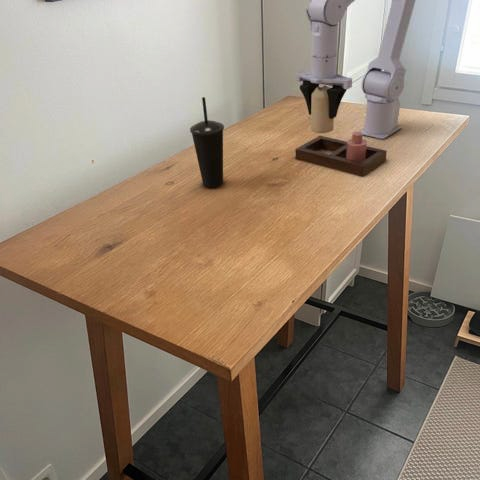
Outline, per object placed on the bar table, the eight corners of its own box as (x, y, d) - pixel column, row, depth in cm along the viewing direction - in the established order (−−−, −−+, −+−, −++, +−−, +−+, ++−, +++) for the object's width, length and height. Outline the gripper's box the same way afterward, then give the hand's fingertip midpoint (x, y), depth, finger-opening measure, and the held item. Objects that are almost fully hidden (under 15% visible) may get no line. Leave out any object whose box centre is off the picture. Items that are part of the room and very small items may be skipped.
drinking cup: (225, 191, 118) (216, 103, 105) (193, 191, 120) (181, 103, 107) (232, 177, 124) (224, 92, 111) (202, 177, 125) (191, 92, 113)
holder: (319, 145, 136) (319, 135, 134) (385, 160, 125) (387, 150, 123) (295, 158, 130) (295, 148, 128) (362, 176, 119) (363, 166, 117)
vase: (352, 158, 127) (354, 128, 123) (369, 162, 125) (371, 132, 120) (341, 165, 125) (343, 134, 120) (358, 169, 122) (361, 138, 117)
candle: (307, 132, 126) (308, 89, 119) (315, 124, 129) (316, 83, 123) (328, 134, 123) (330, 91, 117) (336, 126, 127) (338, 84, 121)
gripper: (288, 55, 117) (288, 115, 126) (341, 62, 109) (338, 125, 118) (306, 48, 121) (305, 107, 130) (358, 54, 113) (354, 116, 122)
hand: (322, 115), depth 124 cm, fingers closed on candle, 5 cm apart
